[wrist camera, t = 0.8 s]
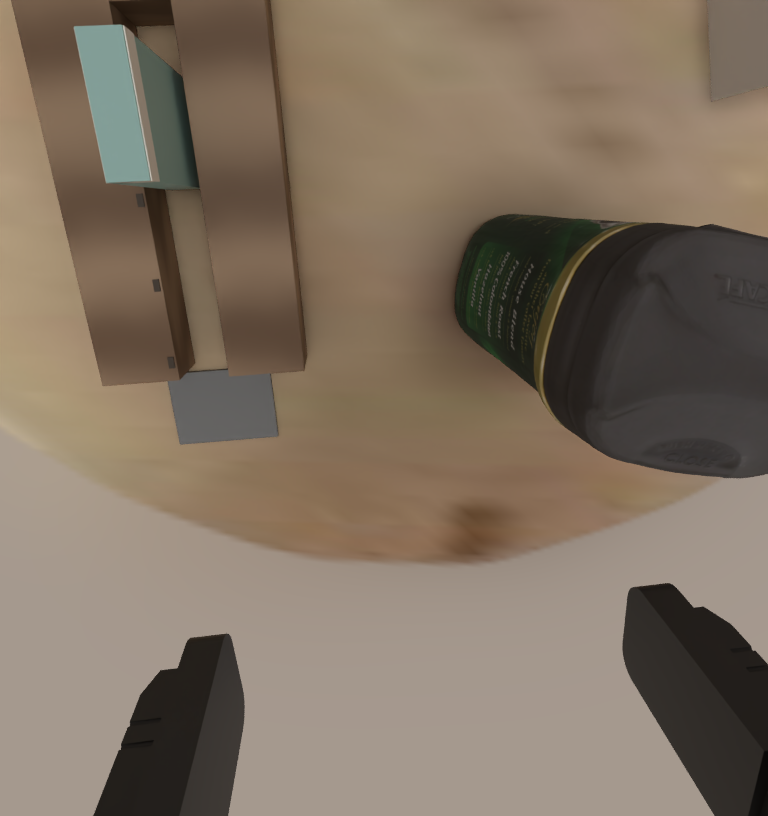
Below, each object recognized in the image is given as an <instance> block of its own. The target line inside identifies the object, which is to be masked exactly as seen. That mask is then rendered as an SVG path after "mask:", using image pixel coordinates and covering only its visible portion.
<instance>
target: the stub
mask: <svg viewBox="0 0 768 816" xmlns="http://www.w3.org/2000/svg"><path fill="white" fill-rule="evenodd" d="M74 31H75V36H76V41H77V45H78V50H79V55H80V60H81V65H82V69H83V74H84V79H85V84H86V89H87V93H88V98H89V103H90V108H91V113H92V117H93V122H94V127H95V132H96V137H97V142H98V146H99V151H100V156H101V161H102V166H103V170H104V175H105V180H106V183H110V184H121V185H130V186H139V187H148V188H157V189H166V190H184V189H200V185H199V179H198V172H197V166H196V160H195V153H194V147H193V140H192V134H191V127H190V121H189V114H188V108H187V102H186V95H185V89H184V82H183V77H182V76H180V75H179V74H178V73H177V72H176V71H175V70H174V69H172V68H171V67H170V66H169V65H168V64H167V63H165V62H164V61H163V60H162V59H161V58H160V57H158V56H157V55H156V54H155V53H154V52H153V51H152V50H150V49H149V48H148V47H147V46H146V45H145V44H143V43H142V42H141V41H140V40H139V39H138V38H137V37H135V36H134V34H133V33H132V32H131V31H130V30H129V29H128V28H127V27H125V26H124V25H97V26H74Z"/></svg>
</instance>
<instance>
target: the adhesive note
mask: <svg viewBox="0 0 768 816" xmlns="http://www.w3.org/2000/svg"><path fill="white" fill-rule="evenodd" d="M707 3H708V29H709V54H710V80H711V102H712V101H716V100H719V99H723V98H727V97H731V96H734V95H738V94H742V93H745V92H749V91H753V90H756V89H760V88H764V87H767V86H768V0H707Z"/></svg>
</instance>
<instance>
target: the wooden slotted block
mask: <svg viewBox="0 0 768 816" xmlns="http://www.w3.org/2000/svg"><path fill="white" fill-rule="evenodd" d="M11 2H12V6H13V10H14V15H15V19H16V23H17V27H18V31H19V36H20V40H21V44H22V48H23V52H24V57H25V61H26V65H27V69H28V74H29V78H30V82H31V86H32V90H33V95H34V99H35V103H36V107H37V111H38V116H39V120H40V124H41V128H42V133H43V137H44V141H45V145H46V149H47V154H48V158H49V162H50V166H51V170H52V175H53V179H54V183H55V187H56V192H57V196H58V200H59V204H60V208H61V213H62V217H63V221H64V225H65V229H66V234H67V238H68V242H69V246H70V251H71V255H72V259H73V263H74V267H75V272H76V276H77V280H78V284H79V288H80V293H81V297H82V301H83V305H84V310H85V314H86V318H87V322H88V326H89V331H90V335H91V339H92V343H93V347H94V352H95V356H96V360H97V364H98V369H99V373H100V377H101V381H102V385H103V386H111V385H124V384H137V383H151V382H164V381H177V380H180V379H181V378H182V377H183V376H184V375H185V374H186V373H187V372H188V371H189V369H190V368H191V367H192V366H193V365H194V364H195V360H194V354H193V348H192V343H191V337H190V331H189V326H188V320H187V314H186V309H185V303H184V297H183V292H182V286H181V280H180V274H179V269H178V263H177V257H176V252H175V246H174V240H173V235H172V229H171V223H170V218H169V212H168V206H167V200H166V195H165V189H157V188H148V187H139V186H130V185H121V184H110V183H106V180H105V175H104V170H103V166H102V161H101V156H100V151H99V146H98V142H97V137H96V132H95V127H94V122H93V117H92V113H91V108H90V103H89V98H88V93H87V89H86V84H85V79H84V74H83V69H82V65H81V60H80V55H79V50H78V45H77V41H76V36H75V31H74V26H97V25H124V26H125V27H127V28H128V29H129V30H130V31H131V32H132V33H133V34H134V36H135V37H137V38H138V35H137V30H136V26H153V25H175V31H176V37H177V44H178V50H179V57H180V63H181V69H182V76H183V82H184V89H185V95H186V102H187V108H188V114H189V121H190V127H191V134H192V140H193V147H194V153H195V160H196V166H197V172H198V179H199V185H200V192H201V198H202V205H203V211H204V217H205V224H206V230H207V237H208V243H209V250H210V256H211V262H212V269H213V275H214V282H215V288H216V295H217V301H218V308H219V314H220V320H221V327H222V333H223V340H224V346H225V353H226V359H227V365H228V372H229V377H230V376H243V375H256V374H270V373H283V372H296V371H304V370H305V364H306V359H307V348H306V339H305V329H304V320H303V310H302V301H301V291H300V281H299V272H298V262H297V253H296V243H295V234H294V224H293V214H292V205H291V195H290V186H289V176H288V167H287V157H286V147H285V138H284V128H283V119H282V109H281V99H280V90H279V80H278V71H277V61H276V52H275V42H274V32H273V23H272V13H271V4H270V0H11Z"/></svg>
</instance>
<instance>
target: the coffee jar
mask: <svg viewBox="0 0 768 816" xmlns="http://www.w3.org/2000/svg"><path fill="white" fill-rule="evenodd" d="M455 313H456V317H457V320H458V322H459V324H460V326H461V328H462V329H463V330H464V332H465V333H466V334H467V335H468V336H469V337H470V338H471V339H473V340H474V341H475V342H476V343H477V344H479V345H480V346H481V347H482V348H484V349H485V350H486V351H488V352H489V353H490V354H492V355H493V356H494V357H496V358H497V359H498V360H500V361H501V362H502V363H504V364H505V365H506V366H507V367H509V368H510V369H511V370H512V371H514V372H515V373H516V374H517V375H518V376H520V377H521V378H522V379H523V380H524V381H526V382H527V383H528V384H529V385H531V386H532V387H533V388H534V389H535V390H537V391H538V392H539V395H540V397H541V399H542V402H543V403H544V405H545V406H546V408H547V409H548V411H549V412H550V414H551V415H552V416H553V417H554V418H555V419H556V420H557V421H558V422H559V423H560V424H561V425H563V426H564V427H565V428H567V429H568V430H570V431H571V432H573V433H574V434H576V435H577V436H578V437H580V438H581V439H582V440H584V441H585V442H587V443H588V444H590V445H591V446H592V447H593V448H595V449H597V450H598V451H600V452H602V453H603V454H605V455H607V456H609V457H611V458H613V459H616V460H620V461H624V462H627V463H632V464H637V465H641V466H645V467H649V468H654V469H659V470H664V471H669V472H675V473H683V474H691V475H702V476H715V477H723V478H747V477H754V476H760V475H764V474H768V238H767V237H762V236H757V235H753V234H749V233H745V232H741V231H738V230H734V229H730V228H726V227H722V226H718V225H714V224H709V225H704V226H700V227H693V226H684V225H675V224H665V223H636V222H617V221H603V220H587V219H568V218H557V217H548V216H535V215H518V214H509V215H503V216H499V217H496V218H494V219H492V220H490V221H488V222H487V223H485V224H484V225H483V226H482V227H481V228H480V229H479V230H478V231H477V232H476V233H475V234H474V236H473V237H472V239H471V241H470V243H469V245H468V247H467V250H466V252H465V255H464V258H463V261H462V265H461V268H460V272H459V276H458V280H457V285H456V292H455Z"/></svg>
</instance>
